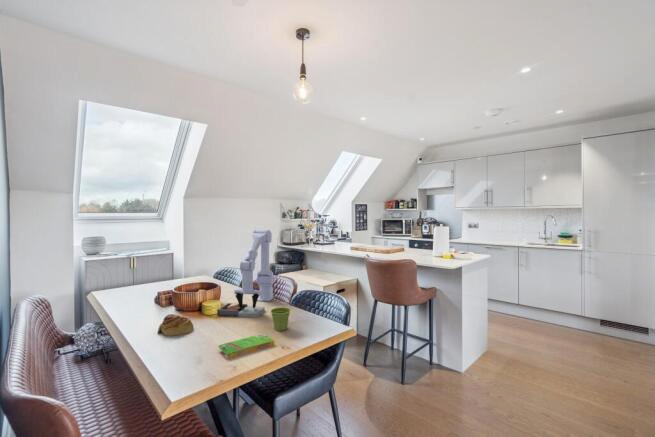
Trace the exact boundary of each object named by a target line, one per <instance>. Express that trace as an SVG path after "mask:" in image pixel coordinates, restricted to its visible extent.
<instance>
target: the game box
mask: <svg viewBox="0 0 655 437" xmlns="http://www.w3.org/2000/svg"><path fill="white" fill-rule="evenodd" d="M274 345H275V339H273V338H271V337H270V336H268V335H266V334H265V333H260V334H256V335H252V336H249V337H245V338H240V339H237V340H233V341H229V342H225V343H221V344H219V345H218V346H217V347H218V348H219V349H220V350H221V352H222V353H224V354H225V355H228V357H230V359H231V358H235V357H238V356H242V355H245V354H249V353H251V352H254V351H258V350H261V349H264V348H267V347H271V346H274Z"/></svg>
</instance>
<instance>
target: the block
mask: <svg viewBox="0 0 655 437" xmlns="http://www.w3.org/2000/svg"><path fill="white" fill-rule="evenodd" d="M239 308H240V306H239V302H235V303H234V304H231V305H230V306H228V307H227V309H228V310H237V309H239Z"/></svg>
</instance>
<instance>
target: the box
mask: <svg viewBox="0 0 655 437" xmlns="http://www.w3.org/2000/svg"><path fill="white" fill-rule="evenodd" d="M231 304H234V303H232V302H231V303H229V302H228V303H226V304H225V305H223V306H221V307H220V308H218V309H217V310H216V311H217V312H216V313H217V316H220V317H221V316H222V317H235V318H236V317H238V313H239V312H240V311H241V310H243V309H244V308H245V307H247V306H248V303H243V306H242V307H241V308H239V309H237V310H228V309H227V307H228V306H230V305H231Z"/></svg>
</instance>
